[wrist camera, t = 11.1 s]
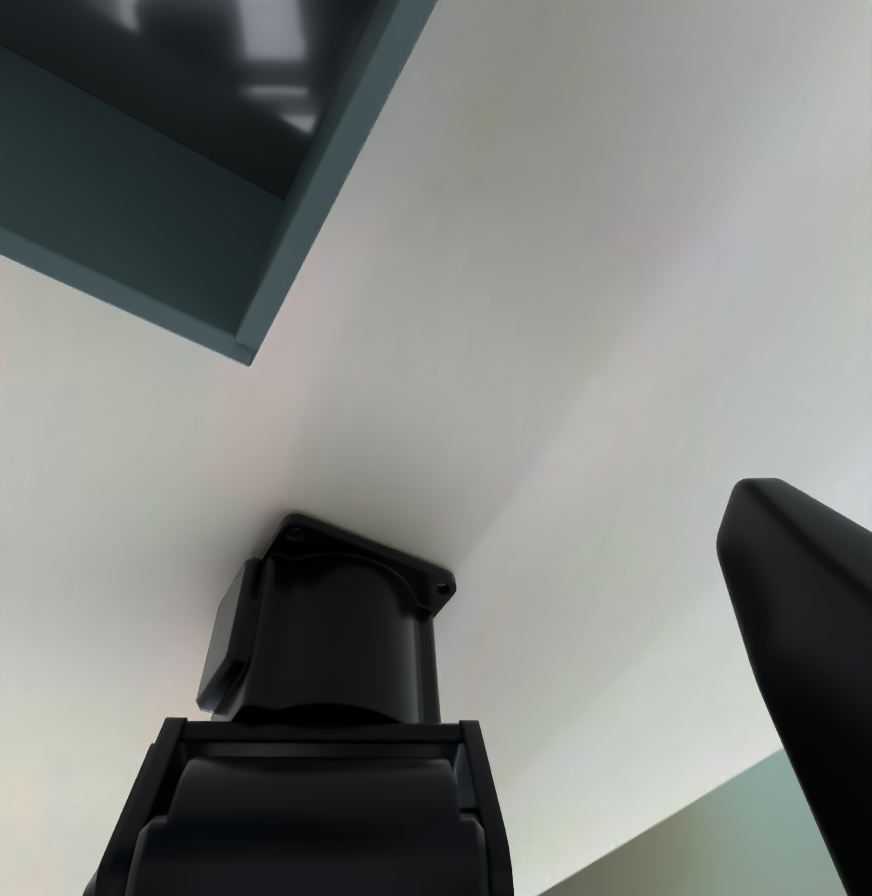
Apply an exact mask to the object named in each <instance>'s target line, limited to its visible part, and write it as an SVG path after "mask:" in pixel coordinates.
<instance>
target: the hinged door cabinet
mask: <svg viewBox="0 0 872 896" xmlns="http://www.w3.org/2000/svg"><path fill="white" fill-rule="evenodd" d="M436 2H437V0H379V1H378V3H377V5H376V8H375V10H374V12H373V14H372V16H371V18H370V20H369V22H368V24H367V27H366V29H365V31H364V33H363V35H362V37H361V39H360V41H359V43H358V46H357V48H356V50H355V52H354V54H353V56H352V58H351V60H350V62H349V65H348V67H347V69H346V71H345V73H344V75H343V77H342V79H341V81H340V84H339V86H338V88H337V90H336V92H335V94H334V96H333V98H332V100H331V103H330V105H329V107H328V109H327V111H326V113H325V115H324V117H323V119H322V122H321V124H320V126H319V128H318V130H317V132H316V134H315V136H314V138H313V141H312V143H311V145H310V147H309V149H308V151H307V153H306V155H305V157H304V160H303V162H302V164H301V166H300V168H299V170H298V172H297V174H296V176H295V179H294V181H293V183H292V185H291V187H290V189H289V191H288V193H287V195H286V198H285V200H282V199H280V198H278V197H277V196H275V195H273V194H271V193H269V192H267V191H266V190H264V189H262V188H260V187H258V186H257V185H255V184H253V183H251V182H249V181H247V180H246V179H244V178H242V177H240V176H238V175H236V174H235V173H233V172H231V171H229V170H227V169H226V168H224V167H222V166H220V165H218V164H216V163H215V162H213V161H211V160H209V159H207V158H206V157H204V156H202V155H200V154H198V153H196V152H195V151H193V150H191V149H189V148H187V147H185V146H184V145H182V144H180V143H178V142H176V141H175V140H173V139H171V138H169V137H167V136H165V135H164V134H162V133H160V132H158V131H156V130H155V129H153V128H151V127H149V126H147V125H145V124H144V123H142V122H140V121H138V120H136V119H134V118H133V117H131V116H129V115H127V114H125V113H124V112H122V111H120V110H118V109H116V108H114V107H113V106H111V105H109V104H107V103H105V102H104V101H102V100H100V99H98V98H96V97H94V96H93V95H91V94H89V93H87V92H85V91H83V90H82V89H80V88H78V87H76V86H74V85H73V84H71V83H69V82H67V81H65V80H63V79H62V78H60V77H58V76H56V75H54V74H52V73H51V72H49V71H47V70H45V69H43V68H42V67H40V66H38V65H36V64H34V63H32V62H31V61H29V60H27V59H25V58H23V57H22V56H20V55H18V54H16V53H14V52H12V51H11V50H9V49H7V48H5V47H3V46H1V45H0V255H2V256H4V257H7V258H9V259H11V260H13V261H15V262H18V263H20V264H22V265H24V266H26V267H29V268H31V269H33V270H35V271H37V272H40V273H42V274H44V275H46V276H48V277H51V278H53V279H55V280H57V281H59V282H62V283H64V284H66V285H68V286H71V287H73V288H75V289H77V290H79V291H82V292H84V293H86V294H88V295H90V296H93V297H95V298H97V299H99V300H101V301H104V302H106V303H108V304H110V305H112V306H115V307H117V308H119V309H121V310H123V311H126V312H128V313H130V314H132V315H134V316H137V317H139V318H141V319H143V320H146V321H148V322H150V323H152V324H154V325H157V326H159V327H161V328H163V329H165V330H168V331H170V332H172V333H174V334H176V335H179V336H181V337H183V338H185V339H187V340H190V341H192V342H194V343H196V344H198V345H201V346H203V347H205V348H207V349H209V350H212V351H214V352H216V353H218V354H221V355H223V356H225V357H227V358H229V359H232V360H234V361H236V362H238V363H240V364H243V365H245V366H248V367H249V366H250V365H251V364H252V362H253V360H254V358H255V356H256V354H257V352H258V350H259V348H260V346H261V344H262V342H263V340H264V338H265V336H266V334H267V332H268V330H269V329H270V327H271V325H272V323H273V321H274V319H275V317H276V315H277V313H278V311H279V309H280V307H281V305H282V303H283V301H284V299H285V297H286V295H287V293H288V291H289V289H290V288H291V286H292V284H293V282H294V280H295V278H296V276H297V274H298V272H299V270H300V268H301V266H302V264H303V262H304V260H305V258H306V256H307V254H308V252H309V250H310V248H311V246H312V245H313V243H314V241H315V239H316V237H317V235H318V233H319V231H320V229H321V227H322V225H323V223H324V221H325V219H326V217H327V215H328V213H329V211H330V209H331V207H332V205H333V204H334V202H335V200H336V198H337V196H338V194H339V192H340V190H341V188H342V186H343V184H344V182H345V180H346V178H347V176H348V174H349V172H350V170H351V168H352V166H353V164H354V163H355V161H356V159H357V157H358V155H359V153H360V151H361V149H362V147H363V145H364V143H365V141H366V139H367V137H368V135H369V133H370V131H371V129H372V127H373V125H374V123H375V122H376V120H377V118H378V116H379V114H380V112H381V110H382V108H383V106H384V104H385V102H386V100H387V98H388V96H389V94H390V92H391V90H392V88H393V86H394V84H395V82H396V80H397V79H398V77H399V75H400V73H401V71H402V69H403V67H404V65H405V63H406V61H407V59H408V57H409V55H410V53H411V51H412V49H413V47H414V45H415V43H416V41H417V39H418V38H419V36H420V34H421V32H422V30H423V28H424V26H425V24H426V22H427V20H428V18H429V16H430V14H431V12H432V10H433V8H434V6H435V4H436Z"/></svg>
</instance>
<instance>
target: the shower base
mask: <svg viewBox="0 0 872 896" xmlns="http://www.w3.org/2000/svg"><path fill="white" fill-rule="evenodd" d="M378 1H379V0H0V45H1V46H3V47H5V48H7V49H9V50H11V51H12V52H14V53H16V54H18V55H20V56H22V57H23V58H25V59H27V60H29V61H31V62H32V63H34V64H36V65H38V66H40V67H42V68H43V69H45V70H47V71H49V72H51V73H52V74H54V75H56V76H58V77H60V78H62V79H63V80H65V81H67V82H69V83H71V84H73V85H74V86H76V87H78V88H80V89H82V90H83V91H85V92H87V93H89V94H91V95H93V96H94V97H96V98H98V99H100V100H102V101H104V102H105V103H107V104H109V105H111V106H113V107H114V108H116V109H118V110H120V111H122V112H124V113H125V114H127V115H129V116H131V117H133V118H134V119H136V120H138V121H140V122H142V123H144V124H145V125H147V126H149V127H151V128H153V129H155V130H156V131H158V132H160V133H162V134H164V135H165V136H167V137H169V138H171V139H173V140H175V141H176V142H178V143H180V144H182V145H184V146H185V147H187V148H189V149H191V150H193V151H195V152H196V153H198V154H200V155H202V156H204V157H206V158H207V159H209V160H211V161H213V162H215V163H216V164H218V165H220V166H222V167H224V168H226V169H227V170H229V171H231V172H233V173H235V174H236V175H238V176H240V177H242V178H244V179H246V180H247V181H249V182H251V183H253V184H255V185H257V186H258V187H260V188H262V189H264V190H266V191H267V192H269V193H271V194H273V195H275V196H277V197H278V198H280V199H282V200H285V198H286V195H287V193H288V191H289V189H290V187H291V185H292V183H293V181H294V179H295V176H296V174H297V172H298V170H299V168H300V166H301V164H302V162H303V160H304V157H305V155H306V153H307V151H308V149H309V147H310V145H311V143H312V141H313V138H314V136H315V134H316V132H317V130H318V128H319V126H320V124H321V122H322V119H323V117H324V115H325V113H326V111H327V109H328V107H329V105H330V103H331V100H332V98H333V96H334V94H335V92H336V90H337V88H338V86H339V84H340V81H341V79H342V77H343V75H344V73H345V71H346V69H347V67H348V65H349V62H350V60H351V58H352V56H353V54H354V52H355V50H356V48H357V46H358V43H359V41H360V39H361V37H362V35H363V33H364V31H365V29H366V27H367V24H368V22H369V20H370V18H371V16H372V14H373V12H374V10H375V8H376V5H377V3H378Z"/></svg>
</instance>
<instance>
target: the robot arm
mask: <svg viewBox="0 0 872 896" xmlns="http://www.w3.org/2000/svg"><path fill="white" fill-rule="evenodd" d="M292 528H299V529H300V530H302V531H298V532H297V531H293V530H291V529H292ZM716 549H717V555H718V559H719V563H720V566H721V569H722V573H723V576H724V579H725V582H726V586H727V589H728V592H729V596H730V599H731V602H732V606H733V609H734V612H735V615H736V619H737V622H738V625H739V629H740V632H741V635H742V638H743V642H744V645H745V648H746V652H747V655H748V658H749V661H750V664H751V667H752V670H753V673H754V676H755V679H756V682H757V685H758V687H759V690H760V692H761V695H762V697H763V700H764V702H765V705H766V707H767V709H768V711H769V714H770V716H771V718H772V721H773V723H774V725H775V728H776V730H777V732H778V735H779V737H780V739H781V742H782V744H783V746H784V749H785V751H786V753H787V756H788V758H789V760H790V763H791V765H792V767H793V770H794V772H795V774H796V777H797V779H798V781H799V783H800V786H801V788H802V790H803V793H804V795H805V798H806V800H807V802H808V805H809V806H810V809H811V812H812V814H813V816H814V819H815V821H816V823H817V826H818V828H819V830H820V832H821V835H822V837H823V840H824V842H825V844H826V847H827V849H828V851H829V854H830V855H831V858H832V861H833V863H834V865H835V867H836V870H837V872H838V875H839V877H840V879H841V882H842V884H843V886H844V888H845V891H846V893H847V895H848V896H872V532H871V531H869V530H867V529H865V528H864V527H862V526H860V525H859V524H857V523H855V522H853V521H852V520H850V519H848V518H846V517H845V516H843V515H841V514H840V513H838V512H836V511H834V510H833V509H831V508H829V507H828V506H826V505H824V504H822V503H821V502H819V501H817V500H816V499H814V498H812V497H810V496H809V495H807V494H805V493H803V492H802V491H800V490H798V489H797V488H795V487H793V486H791V485H790V484H788V483H786V482H785V481H783V480H781V479H777V478H747V479H743V480H740V481H739V482H737V484H736V485H735V486H734V488H733V490H732V493H731V496H730V499H729V502H728V505H727V508H726V511H725V514H724V516H723V519H722V522H721V525H720V528H719V531H718V535H717V542H716ZM440 584H446V585H443V586H439V585H440ZM455 592H456V580H455V577H454V575H453V574H452V573H450V572H448V571H446V570H443V569H441V568H438V567H435V566H433V565H430V564H428V563H425V562H423V561H420V560H417V559H415V558H412V557H410V556H407V555H405V554H402V553H399V552H397V551H394V550H392V549H389V548H387V547H384V546H381V545H379V544H376V543H374V542H371V541H368V540H366V539H363V538H361V537H358V536H356V535H353V534H350V533H348V532H345V531H343V530H340V529H338V528H335V527H332V526H330V525H327V524H325V523H322V522H320V521H317V520H314V519H312V518H309V517H307V516H304V515H300V514H291V515H289V516H286V517H285V518H284V519H283V520H282V522H281V523H280V525H279V527H278V528H277V530H276V531H275V533H274V535H273V536H272V538H271V539H270V541H269V543H268V544H267V546H266V547H265V549H264V551H263V552H262V554H261V555H260V557H259V558H256V557H253V558H251V559H249V560H246V562H245V563H244V565H243V567H242V568H241V570H240V571H239V573H238V575H237V576H236V578H235V580H234V581H233V583H232V585H231V586H230V588H229V589H228V591H227V593H226V594H225V596H224V598H223V599H222V601H221V603H220V605H219V608H218V612H217V616H216V620H215V624H214V628H213V632H212V637H211V641H210V645H209V649H208V653H207V657H206V661H205V666H204V670H203V674H202V678H201V682H200V686H199V690H198V695H197V699H196V702H197V704H198V706H199V709H200V710H201V711H205V712H208V713H212V717H211V721H188V720H187V718H173V717H167V718H166V719H165V721H164V723H163V726H162V728H161V730H160V733H159V735H158V737H157V740H156V742H155V743H152V744H151V745H150V747H149V750H148V752H147V754H146V757H145V759H144V761H143V764H142V766H141V768H140V771H139V773H138V775H137V778H136V780H135V783H134V785H133V787H132V790H131V792H130V794H129V797H128V799H127V801H126V804H125V806H124V808H123V811H122V813H121V815H120V818H119V820H118V822H117V825H116V827H115V829H114V832H113V834H112V836H111V839H110V841H109V843H108V846H107V848H106V850H105V853H104V855H103V857H102V860H101V862H100V865H99V867H98V869H97V870H96V872H95V874H94V875H93V877H92V878H91V880H90V882H89V883H88V885H87V886H86V888H85V890H84V893H83V896H514V887H513V876H512V866H511V859H510V852H509V845H508V840H507V835H506V830H505V826H504V822H503V818H502V814H501V810H500V806H499V802H498V798H497V794H496V790H495V786H494V782H493V778H492V774H491V769H490V765H489V761H488V757H487V753H486V749H485V745H484V741H483V737H482V733H481V729H480V725H479V721H478V720H459V724H455V723H441V717H440V704H439V691H438V678H437V665H436V652H435V639H434V626H433V618H434V617H435V616H436V615H437V613H438V612H439V611H440V610H441V609H442V608H443V606H444V605H445V604H446V603H447V602H448V601H449V599H450V598H451V597H452V596H453V595H454V593H455Z"/></svg>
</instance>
